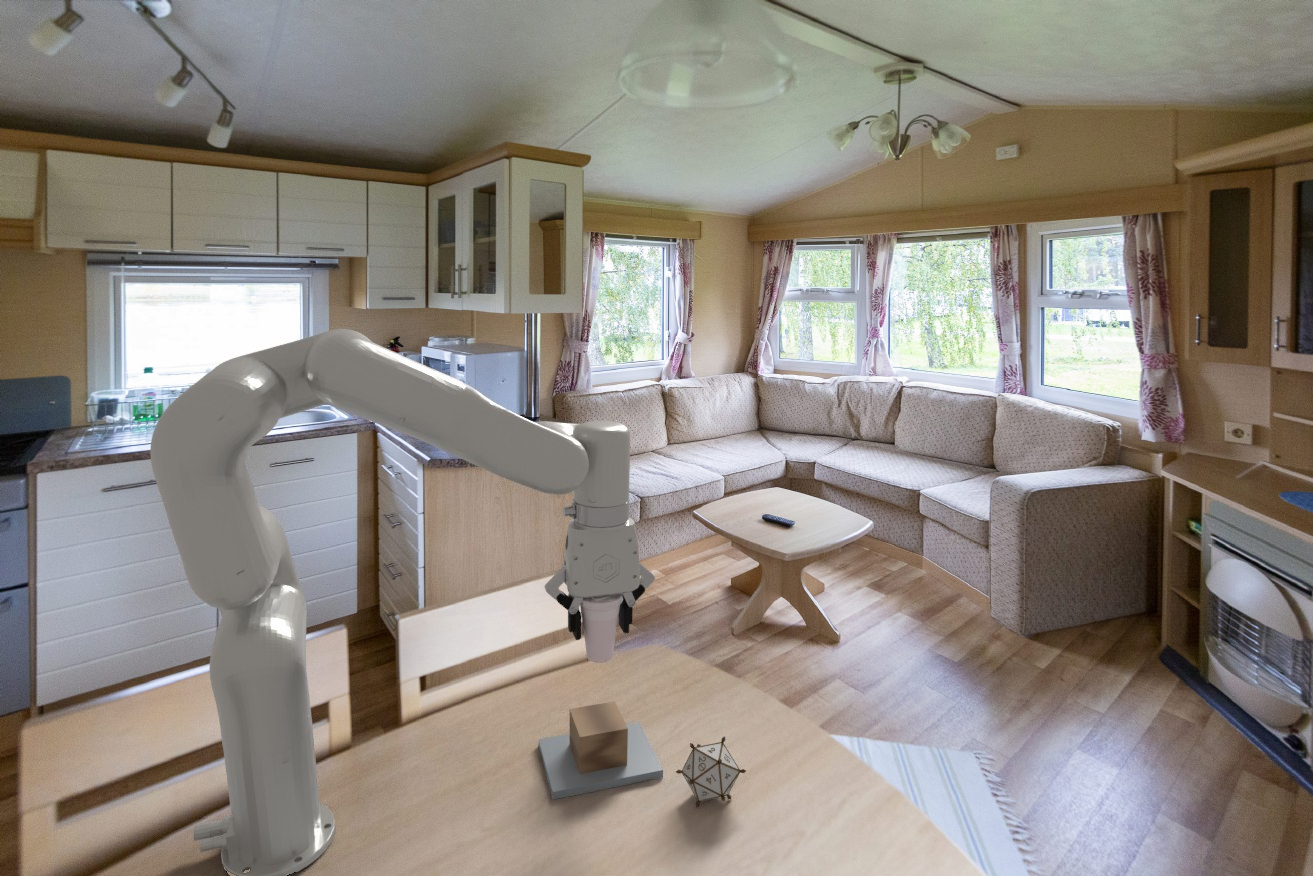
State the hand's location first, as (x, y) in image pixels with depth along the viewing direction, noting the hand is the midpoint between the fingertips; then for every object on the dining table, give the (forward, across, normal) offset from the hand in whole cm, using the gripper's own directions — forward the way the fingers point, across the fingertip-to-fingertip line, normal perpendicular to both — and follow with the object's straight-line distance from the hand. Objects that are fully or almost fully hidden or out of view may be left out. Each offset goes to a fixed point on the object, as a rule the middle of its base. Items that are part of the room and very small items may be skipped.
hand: (600, 631), depth 102 cm
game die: (+21, +13, -12) cm, 28 cm away
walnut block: (+20, 0, 0) cm, 20 cm away
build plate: (+21, 0, 0) cm, 21 cm away
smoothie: (+4, 0, 0) cm, 4 cm away
